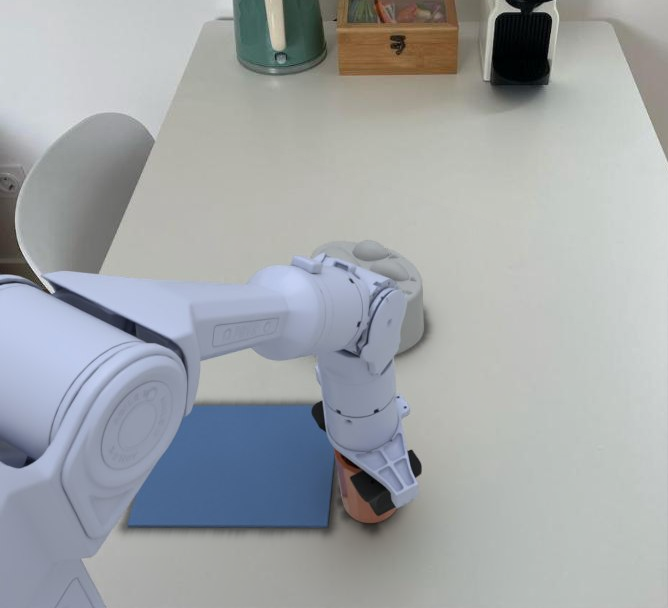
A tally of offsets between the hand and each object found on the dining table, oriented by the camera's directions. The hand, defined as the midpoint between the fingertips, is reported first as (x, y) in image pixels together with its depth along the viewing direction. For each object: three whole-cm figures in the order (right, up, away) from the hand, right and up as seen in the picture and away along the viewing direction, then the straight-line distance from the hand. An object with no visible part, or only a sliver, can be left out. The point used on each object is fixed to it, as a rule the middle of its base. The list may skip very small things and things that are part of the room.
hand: (370, 482), depth 72 cm
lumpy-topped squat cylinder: (-1, +12, +18) cm, 22 cm away
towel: (-13, 0, +5) cm, 14 cm away
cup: (0, -2, +2) cm, 2 cm away
